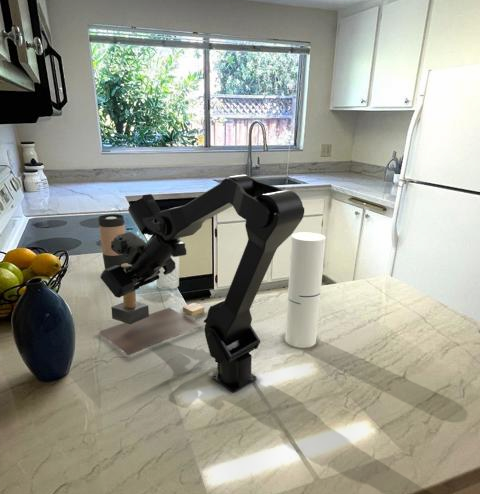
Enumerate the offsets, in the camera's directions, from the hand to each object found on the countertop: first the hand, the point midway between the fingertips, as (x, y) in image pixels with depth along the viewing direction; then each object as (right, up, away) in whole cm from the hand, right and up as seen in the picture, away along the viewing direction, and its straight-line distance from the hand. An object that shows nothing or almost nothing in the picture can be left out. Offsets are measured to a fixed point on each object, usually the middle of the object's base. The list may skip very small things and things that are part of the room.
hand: (124, 290), depth 94 cm
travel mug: (-13, +4, +37) cm, 39 cm away
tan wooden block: (+15, -7, +12) cm, 20 cm away
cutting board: (+6, -10, +3) cm, 12 cm away
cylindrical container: (+41, -12, 0) cm, 43 cm away
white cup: (+5, +1, +31) cm, 31 cm away
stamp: (+1, -6, +1) cm, 7 cm away
